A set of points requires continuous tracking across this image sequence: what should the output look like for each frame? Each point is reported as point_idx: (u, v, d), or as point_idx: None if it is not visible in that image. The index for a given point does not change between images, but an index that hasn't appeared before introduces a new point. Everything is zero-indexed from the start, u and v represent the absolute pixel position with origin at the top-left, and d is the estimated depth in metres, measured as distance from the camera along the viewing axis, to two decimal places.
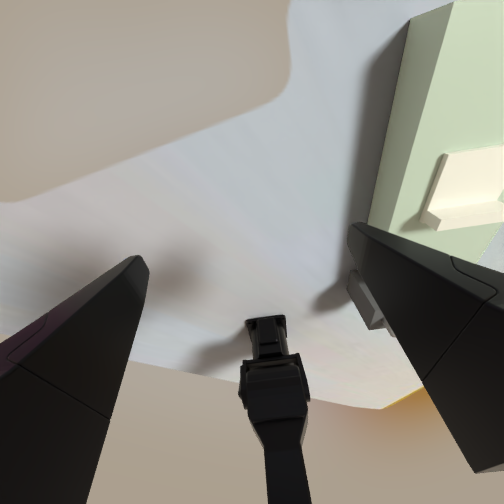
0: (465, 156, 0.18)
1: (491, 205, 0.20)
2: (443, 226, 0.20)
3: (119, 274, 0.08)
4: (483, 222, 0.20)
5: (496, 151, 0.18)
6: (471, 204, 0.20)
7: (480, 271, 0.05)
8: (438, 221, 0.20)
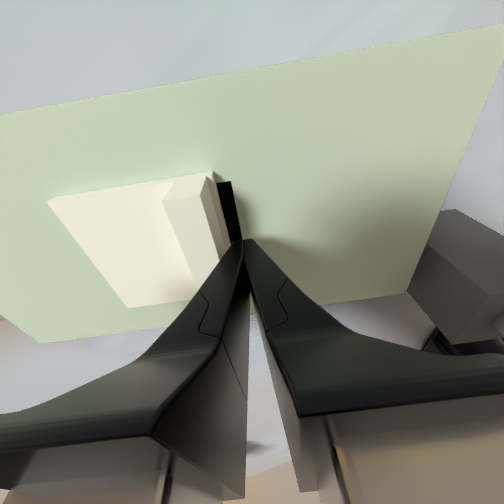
0: (120, 289, 0.11)
1: None
2: None
3: (242, 256, 0.08)
4: (211, 255, 0.08)
5: (93, 252, 0.10)
6: None
7: (294, 297, 0.05)
8: None
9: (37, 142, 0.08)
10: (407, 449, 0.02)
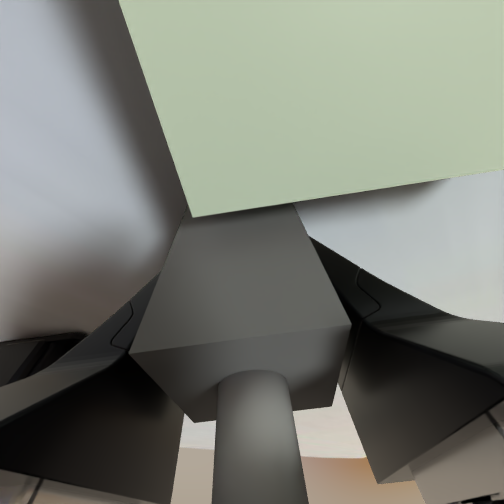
0: None
1: None
2: None
3: None
4: None
5: None
6: None
7: (376, 285, 0.05)
8: None
9: None
10: None
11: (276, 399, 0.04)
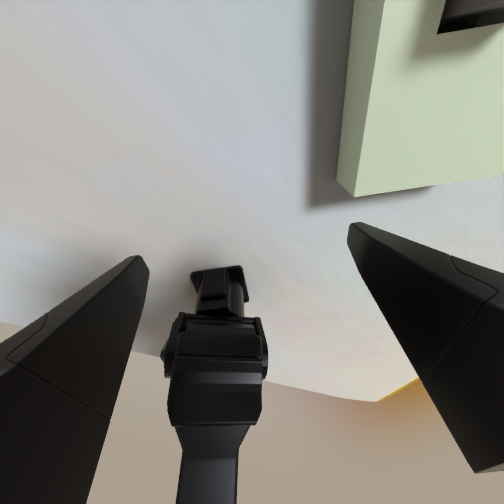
0: None
1: None
2: None
3: (119, 274, 0.08)
4: None
5: None
6: None
7: (480, 271, 0.05)
8: None
9: None
10: None
11: None
